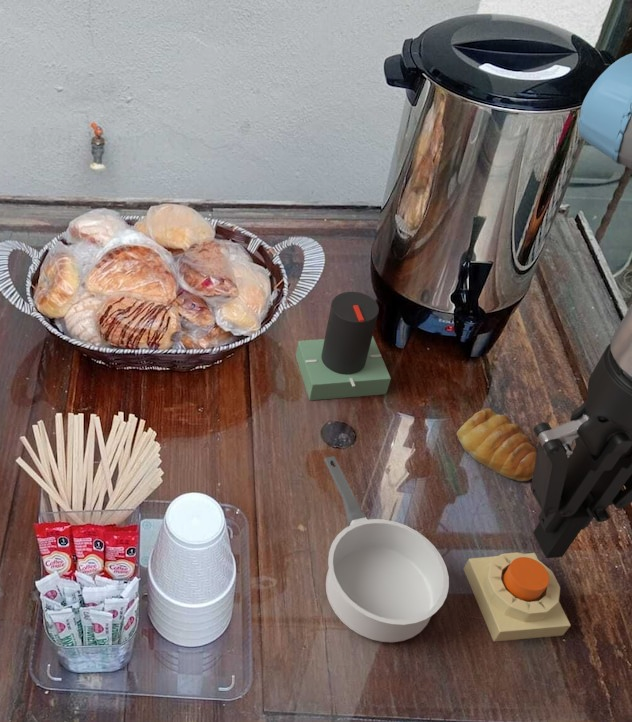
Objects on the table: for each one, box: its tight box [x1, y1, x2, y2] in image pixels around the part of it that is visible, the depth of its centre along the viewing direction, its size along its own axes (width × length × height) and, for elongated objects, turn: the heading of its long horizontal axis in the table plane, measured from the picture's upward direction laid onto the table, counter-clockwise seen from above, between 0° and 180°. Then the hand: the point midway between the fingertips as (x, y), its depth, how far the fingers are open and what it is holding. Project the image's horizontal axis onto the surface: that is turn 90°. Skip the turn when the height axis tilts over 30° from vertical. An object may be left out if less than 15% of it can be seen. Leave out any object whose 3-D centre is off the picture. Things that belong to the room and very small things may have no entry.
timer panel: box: [295, 335, 392, 401], centre depth 100 cm, size 10×10×3 cm
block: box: [463, 551, 572, 642], centre depth 77 cm, size 7×8×4 cm
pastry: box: [456, 407, 537, 482], centre depth 90 cm, size 9×7×4 cm
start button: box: [504, 557, 549, 601], centre depth 75 cm, size 4×4×2 cm
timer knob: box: [321, 291, 380, 374], centre depth 96 cm, size 6×6×9 cm
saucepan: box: [323, 455, 450, 643], centre depth 81 cm, size 12×20×6 cm, turn 13°
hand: (547, 544), depth 71 cm, fingers closed
